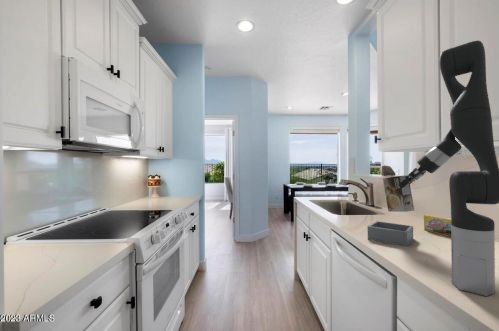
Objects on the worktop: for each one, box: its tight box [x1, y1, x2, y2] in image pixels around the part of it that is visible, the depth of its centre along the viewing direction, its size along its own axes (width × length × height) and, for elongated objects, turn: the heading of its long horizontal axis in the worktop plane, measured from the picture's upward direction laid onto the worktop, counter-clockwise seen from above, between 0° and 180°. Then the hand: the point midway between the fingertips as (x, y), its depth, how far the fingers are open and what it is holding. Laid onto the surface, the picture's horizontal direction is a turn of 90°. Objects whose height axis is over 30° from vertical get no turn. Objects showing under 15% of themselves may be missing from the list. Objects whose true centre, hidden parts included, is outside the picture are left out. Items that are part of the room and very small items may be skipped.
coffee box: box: [382, 175, 415, 213], centre depth 114 cm, size 9×6×16 cm
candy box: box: [423, 214, 451, 237], centre depth 123 cm, size 16×2×8 cm, turn 21°
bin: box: [367, 220, 414, 247], centre depth 116 cm, size 14×16×6 cm
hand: (402, 185), depth 113 cm, fingers closed on coffee box, 7 cm apart
